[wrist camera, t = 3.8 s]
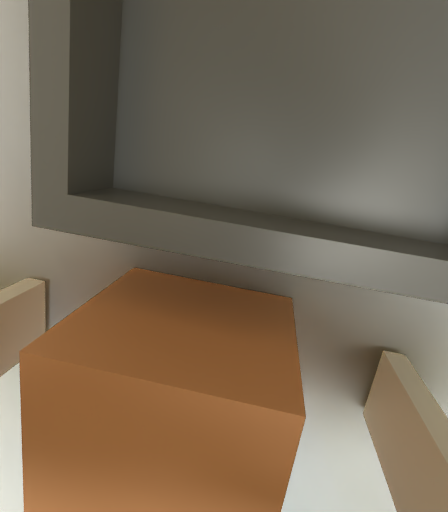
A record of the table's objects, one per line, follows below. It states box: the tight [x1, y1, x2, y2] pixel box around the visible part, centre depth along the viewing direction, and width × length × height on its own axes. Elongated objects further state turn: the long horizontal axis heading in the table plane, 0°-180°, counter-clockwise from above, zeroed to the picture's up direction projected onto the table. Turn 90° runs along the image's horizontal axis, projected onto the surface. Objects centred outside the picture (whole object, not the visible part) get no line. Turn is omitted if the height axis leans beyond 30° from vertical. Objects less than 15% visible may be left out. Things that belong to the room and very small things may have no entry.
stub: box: [19, 268, 306, 512], centre depth 10 cm, size 5×6×6 cm
